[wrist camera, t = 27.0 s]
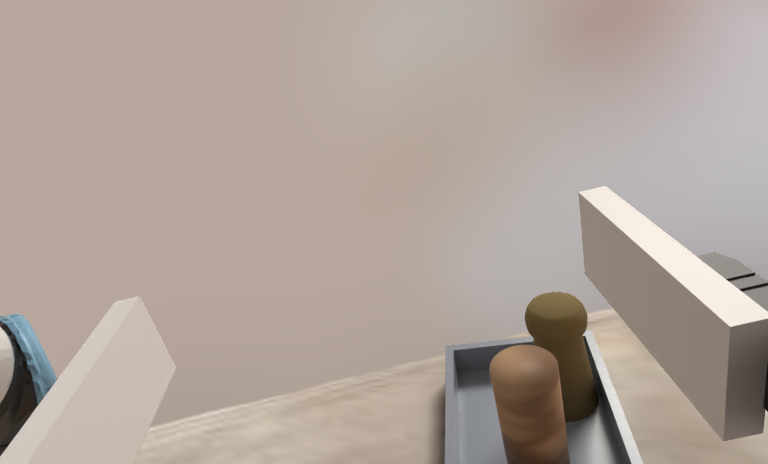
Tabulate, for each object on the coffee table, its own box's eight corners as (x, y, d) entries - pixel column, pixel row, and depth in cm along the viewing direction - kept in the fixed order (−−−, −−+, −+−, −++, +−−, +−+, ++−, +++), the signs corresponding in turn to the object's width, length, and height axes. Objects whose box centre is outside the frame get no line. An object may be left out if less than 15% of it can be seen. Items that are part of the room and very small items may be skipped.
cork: (542, 370, 54) (530, 279, 50) (604, 382, 51) (598, 286, 46) (523, 413, 50) (508, 317, 45) (590, 429, 47) (581, 328, 42)
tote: (453, 529, 42) (444, 495, 41) (452, 375, 58) (445, 346, 57) (651, 520, 40) (650, 483, 38) (594, 360, 55) (591, 329, 54)
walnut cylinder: (513, 497, 43) (493, 395, 38) (504, 447, 47) (485, 349, 42) (577, 491, 42) (565, 385, 37) (562, 440, 46) (550, 340, 42)
